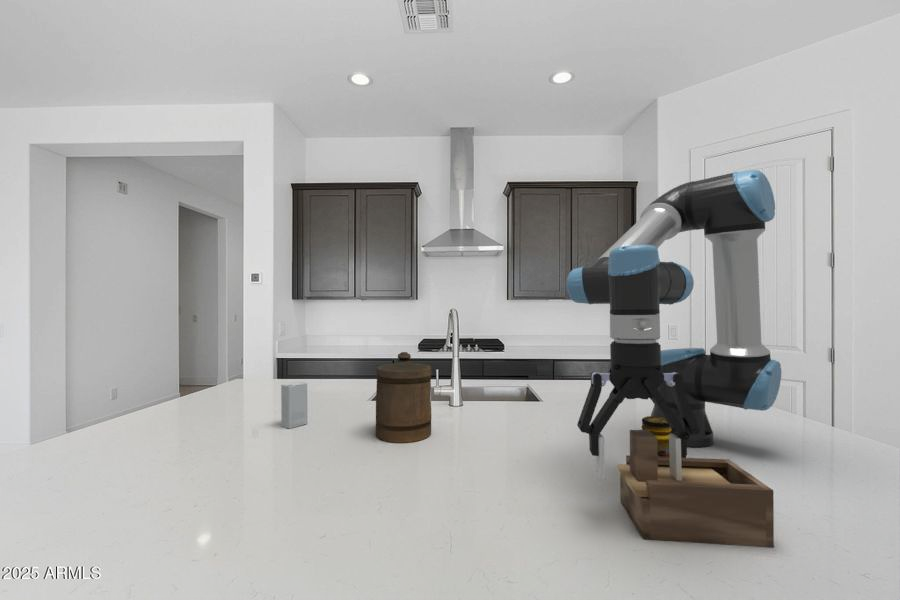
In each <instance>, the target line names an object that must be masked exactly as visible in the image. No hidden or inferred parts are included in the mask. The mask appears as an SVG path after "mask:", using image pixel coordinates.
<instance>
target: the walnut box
mask: <svg viewBox="0 0 900 600" xmlns="http://www.w3.org/2000/svg"><path fill="white" fill-rule="evenodd" d="M625 464H627V465H630V454H628V455H627V454H626V455H625ZM658 466H670V460H669V457H658ZM681 467H700V468H712V469H713V470H714V471H715V472H717V473H718V474H719V475H720V476H722V477H723V478H724V479H726V480H727V481H728V482H729V483H731V484H728V483H707V482H685V481H663V480H646V486H647V487H648V488H649V497H636V496H635V494H634V493H633V491H632V490H631V488H630V487H629V486H628V484H627V483H626V481H625V480H624V479H623V477H622V476H621V474H620V473H619V476H620V479H619V481H620V484H619V485H620V488H619V489H620V492H619V493H620V496H619V497H620V499H619V500H620V503H621V505H622V506H623V508H624V510H625V511H626V513H627V514H628V517H629V518H630V520H631V521H632V523H633V525H634V526H635V528H636V530H637V531H638V533H639V535H640V536H641V538H642V539H643V540H649V541H650V540H651V541H664V542H665V541H669V542H683V543H699V544H700V543H701V544H717V545H732V546H747V547H762V548H765V547H766V548H774V547H775V546H774V544H775V542H774V541H775V539H774V537H775V536H774V535H775V534H774V533H775V532H774V531H775V530H774V529H775V528H774V521H775V520H774V519H775V517H774V515H775V513H774V510H775V508H774V507H775V506H774V490H773V489H772V488H771V487H769V486H768V485H766V484H765V483H764V482H763V481H761V480H760V479H757V478H756V477H755V476H753V475H752V474H751V473H749V472H748V471H746V470H745V469H743V468H742V467H740V466H739V465H737V463H735V462H733V461H732V460H730V459H726V458H725V459H724V458H701V457H698V458H697V457H686V458H681Z"/></svg>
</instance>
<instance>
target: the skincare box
mask: <svg viewBox="0 0 900 600" xmlns="http://www.w3.org/2000/svg"><path fill="white" fill-rule="evenodd" d="M280 388H281V389H280V393H281V395H280V396H281V397H280V400H281V404H280V405H281V409H280V411H281V418H280V419H281V426H282V427H284V428H286V429H293V428H296V427H301V426H304V425H307V424H308V383H307V382H303V381H296V382H290V383H284V384H283V383H282V384H281V385H280Z"/></svg>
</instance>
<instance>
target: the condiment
mask: <svg viewBox="0 0 900 600" xmlns="http://www.w3.org/2000/svg"><path fill="white" fill-rule="evenodd" d="M641 424H642V425H641V430H649V431H650V432H651V433H652V434H653V435H655V436H656V437H657V447H658V457H669V434H671V427H670V426H669V424H668V423H667V421H666V420H665V418H662V417H655V416H651V415H650V416H644V417H642V419H641Z"/></svg>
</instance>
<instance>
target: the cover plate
mask: <svg viewBox="0 0 900 600" xmlns="http://www.w3.org/2000/svg"><path fill="white" fill-rule="evenodd" d="M629 455H630V465H627V464H626V463H623V464H621V463H619V464H618V463H617V465H616V467H617V471H618V472H619V475H620V474H621V476H622V477H623V479H624V480H625V481H626V483H627V484H628V486H629V487H630V488H631V490H632V491H633V493H634V494H635V496H636V497H649V488H648V487H647V486H646V480H663V481H678V480H676V479H675V478H674V477H673V476H672V475H671V474H670V466H658V447H657V437H656V436H655V435H653V434H652V433H651V432H650V431H649V430H642V429H629ZM682 481H685V482H707V483H728V484H731V483H729V482H728V481H727V480H726V479H724V478H723V477H722V476H720V475H719V474H718V473H717V472H715V471H714V470H713V469H712V468H700V467H682Z"/></svg>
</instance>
